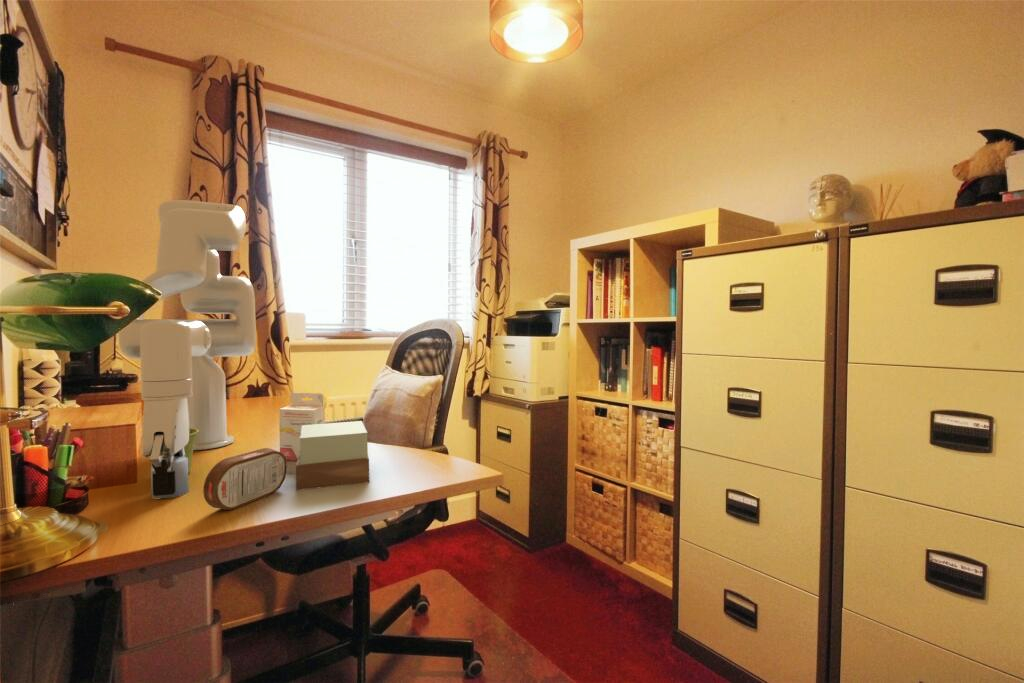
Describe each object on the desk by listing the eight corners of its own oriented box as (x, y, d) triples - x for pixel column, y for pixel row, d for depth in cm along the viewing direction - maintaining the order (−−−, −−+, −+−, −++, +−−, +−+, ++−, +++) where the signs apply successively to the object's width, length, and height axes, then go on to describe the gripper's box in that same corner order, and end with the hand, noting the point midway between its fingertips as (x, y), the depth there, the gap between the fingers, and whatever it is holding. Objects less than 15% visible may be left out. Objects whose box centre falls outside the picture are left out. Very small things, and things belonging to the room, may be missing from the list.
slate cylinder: (157, 490, 90) (156, 458, 90) (192, 487, 92) (191, 455, 92) (146, 500, 85) (145, 466, 85) (183, 496, 87) (182, 463, 87)
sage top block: (302, 449, 102) (301, 425, 102) (362, 443, 106) (361, 420, 106) (300, 464, 91) (300, 438, 91) (367, 458, 95) (367, 432, 95)
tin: (278, 486, 92) (277, 442, 92) (290, 488, 91) (290, 444, 91) (202, 516, 78) (200, 464, 78) (216, 519, 77) (214, 466, 77)
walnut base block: (301, 471, 103) (300, 448, 103) (365, 465, 107) (365, 442, 107) (296, 492, 91) (295, 465, 90) (369, 484, 95) (369, 458, 95)
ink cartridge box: (278, 460, 109) (277, 395, 109) (290, 454, 114) (289, 392, 114) (315, 461, 109) (314, 396, 108) (325, 455, 114) (324, 392, 113)
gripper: (159, 384, 94) (161, 476, 95) (122, 397, 78) (125, 508, 79) (204, 382, 97) (206, 472, 98) (177, 395, 81) (180, 502, 82)
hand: (170, 487), depth 88 cm, fingers closed on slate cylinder, 5 cm apart
